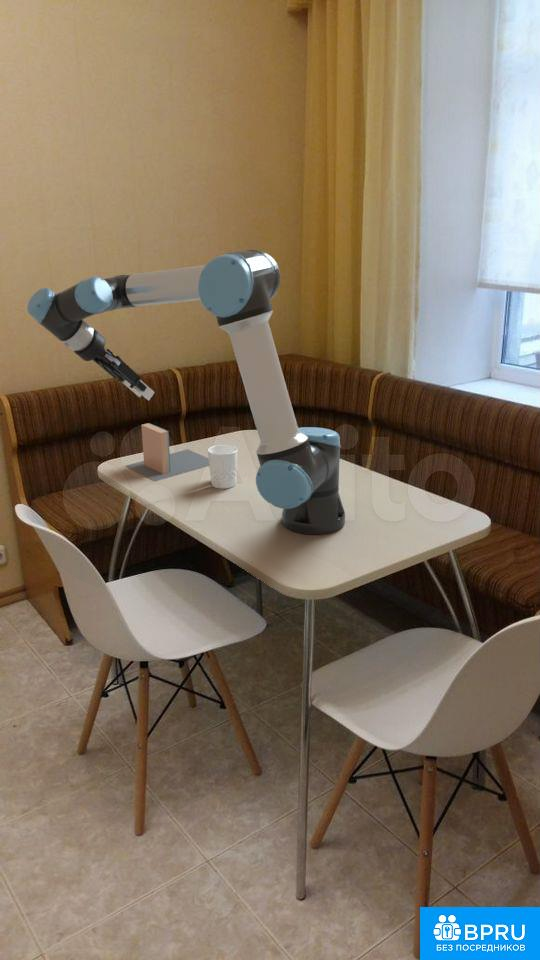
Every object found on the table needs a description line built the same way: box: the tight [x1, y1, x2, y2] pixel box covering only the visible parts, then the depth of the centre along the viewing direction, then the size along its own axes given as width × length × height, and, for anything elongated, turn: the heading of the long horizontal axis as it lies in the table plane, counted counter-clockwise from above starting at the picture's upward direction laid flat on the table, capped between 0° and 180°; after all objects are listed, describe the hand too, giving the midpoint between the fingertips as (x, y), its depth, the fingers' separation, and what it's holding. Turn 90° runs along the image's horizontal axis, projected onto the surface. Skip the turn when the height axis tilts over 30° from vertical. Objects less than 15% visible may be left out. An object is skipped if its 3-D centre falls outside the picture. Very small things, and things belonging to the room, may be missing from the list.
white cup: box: [207, 444, 238, 490], centre depth 203 cm, size 8×8×10 cm
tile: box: [141, 422, 171, 474], centre depth 213 cm, size 2×10×12 cm, turn 40°
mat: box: [124, 449, 209, 482], centre depth 218 cm, size 22×16×1 cm
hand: (146, 394), depth 199 cm, fingers open, 4 cm apart
